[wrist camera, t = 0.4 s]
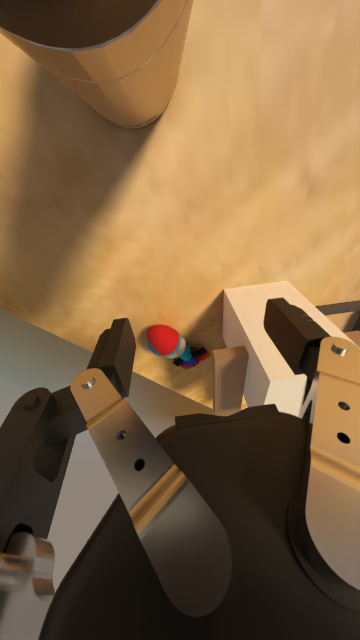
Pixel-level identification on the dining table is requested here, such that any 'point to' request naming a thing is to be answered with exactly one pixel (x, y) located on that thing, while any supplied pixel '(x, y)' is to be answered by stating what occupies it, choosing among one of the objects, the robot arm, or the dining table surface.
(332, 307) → the grey u-shaped bracket
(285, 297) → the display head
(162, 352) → the toy figure
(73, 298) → the dining table surface
